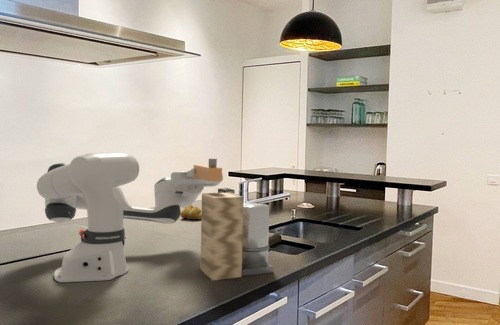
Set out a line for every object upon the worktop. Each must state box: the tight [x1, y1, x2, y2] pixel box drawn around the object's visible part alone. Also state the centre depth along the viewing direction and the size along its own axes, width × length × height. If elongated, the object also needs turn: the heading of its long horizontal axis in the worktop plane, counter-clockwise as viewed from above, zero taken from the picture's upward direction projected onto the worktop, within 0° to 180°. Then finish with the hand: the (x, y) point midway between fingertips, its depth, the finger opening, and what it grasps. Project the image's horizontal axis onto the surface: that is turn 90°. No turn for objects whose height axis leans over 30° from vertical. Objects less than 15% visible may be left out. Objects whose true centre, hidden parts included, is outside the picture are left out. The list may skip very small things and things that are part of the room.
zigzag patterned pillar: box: [200, 192, 244, 281], centre depth 144 cm, size 10×12×26 cm
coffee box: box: [217, 187, 235, 194], centre depth 250 cm, size 9×6×16 cm
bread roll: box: [180, 204, 202, 220], centre depth 241 cm, size 13×10×8 cm
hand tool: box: [268, 233, 282, 247], centre depth 183 cm, size 19×4×5 cm, turn 152°
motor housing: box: [242, 202, 274, 276], centre depth 149 cm, size 11×11×22 cm
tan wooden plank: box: [193, 158, 223, 181], centre depth 158 cm, size 4×19×8 cm, turn 24°
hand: (201, 170), depth 163 cm, fingers closed on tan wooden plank, 4 cm apart
